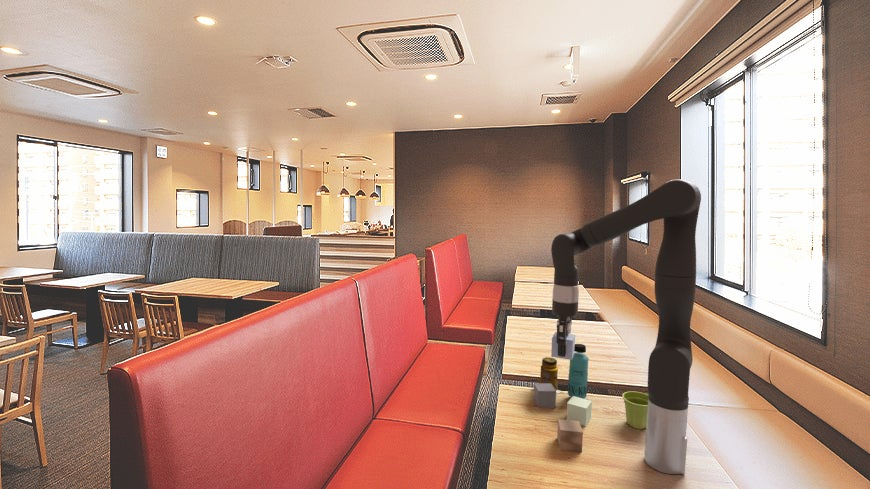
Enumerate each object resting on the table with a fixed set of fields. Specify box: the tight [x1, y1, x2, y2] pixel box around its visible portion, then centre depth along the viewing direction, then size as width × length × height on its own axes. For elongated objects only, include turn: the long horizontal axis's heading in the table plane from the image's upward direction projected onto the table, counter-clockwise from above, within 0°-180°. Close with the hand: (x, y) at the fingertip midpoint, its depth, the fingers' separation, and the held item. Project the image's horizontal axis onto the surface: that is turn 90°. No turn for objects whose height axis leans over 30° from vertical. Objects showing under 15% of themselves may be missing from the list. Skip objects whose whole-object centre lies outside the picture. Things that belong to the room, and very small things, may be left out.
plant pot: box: [621, 390, 648, 430], centre depth 130 cm, size 9×9×9 cm
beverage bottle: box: [567, 343, 590, 399], centre depth 146 cm, size 6×7×20 cm
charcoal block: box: [533, 382, 557, 409], centre depth 143 cm, size 6×6×6 cm
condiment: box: [530, 356, 563, 395], centre depth 153 cm, size 7×8×12 cm
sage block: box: [566, 396, 593, 427], centre depth 133 cm, size 6×6×6 cm
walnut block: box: [556, 418, 584, 453], centre depth 119 cm, size 6×6×6 cm
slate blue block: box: [550, 331, 576, 361], centre depth 127 cm, size 6×6×6 cm
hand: (563, 352), depth 128 cm, fingers closed on slate blue block, 6 cm apart
